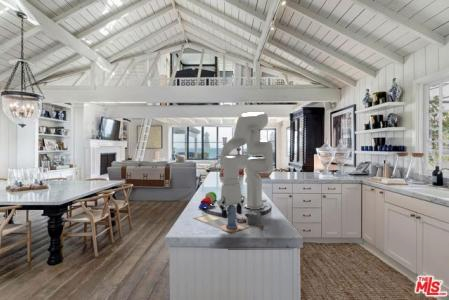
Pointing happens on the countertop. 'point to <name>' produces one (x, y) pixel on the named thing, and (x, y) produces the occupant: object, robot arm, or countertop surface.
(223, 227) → the board
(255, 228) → the countertop surface
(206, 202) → the toy
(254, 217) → the die
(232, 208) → the pawn
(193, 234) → the countertop surface
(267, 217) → the countertop surface
